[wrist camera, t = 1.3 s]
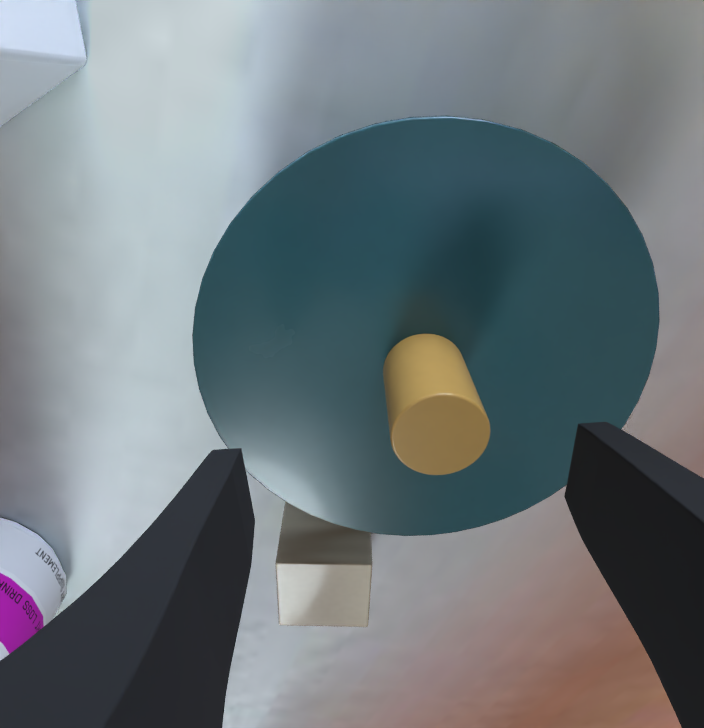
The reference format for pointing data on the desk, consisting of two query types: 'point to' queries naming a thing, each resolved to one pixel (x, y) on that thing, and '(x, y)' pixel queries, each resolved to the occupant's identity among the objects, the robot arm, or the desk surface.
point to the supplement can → (26, 585)
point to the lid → (424, 324)
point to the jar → (36, 50)
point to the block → (322, 572)
